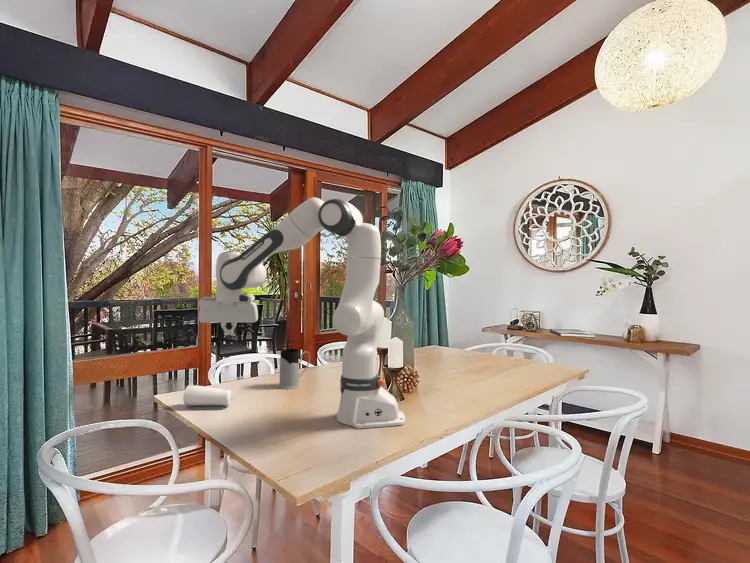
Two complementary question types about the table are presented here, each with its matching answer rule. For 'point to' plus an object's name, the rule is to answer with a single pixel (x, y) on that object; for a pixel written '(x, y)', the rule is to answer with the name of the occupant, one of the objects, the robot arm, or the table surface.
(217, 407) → the mat
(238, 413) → the table surface
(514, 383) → the table surface
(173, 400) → the table surface
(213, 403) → the drinking glass
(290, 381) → the grey mug
